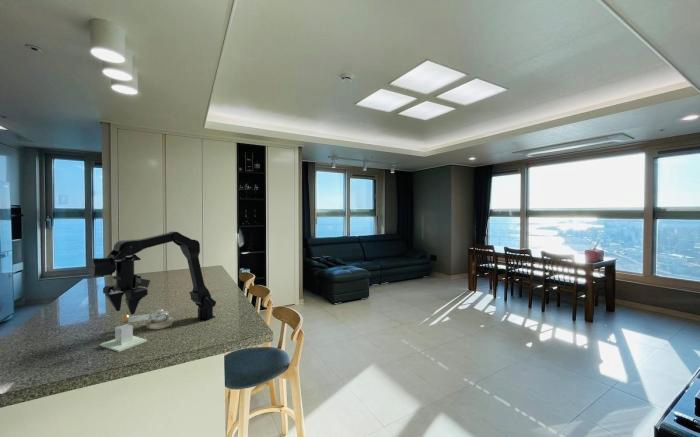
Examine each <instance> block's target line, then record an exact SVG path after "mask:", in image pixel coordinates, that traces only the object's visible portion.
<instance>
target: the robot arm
mask: <svg viewBox="0 0 700 437" xmlns="http://www.w3.org/2000/svg"><path fill="white" fill-rule="evenodd" d="M172 242H173V243H174V244H175V245H177V246H178V247H180V251H181V252H182V255H184V257H185V258H186V260H187V264H188V265H187V266H188V269H189V274H190V279H191V282H192V287H193V288H192V291H189V296H190V300H191V301H192V302H193V303H194V304H195V305H196V306H198V307H197V308H198V309H197V317H196V318H195V320H196V321H201V322H207V321H208V320H213V319H214V318H216V315H214V307H215V306H216V305H217V301H216V300H214V298H212V296H211V293H210V291H209V289H208V288H207V286H206V285H205V282H204V277H203V273H202V268H201V263H200V258H199V255H200V252H201V246H200V244H201V243H200V242H199V241H198V240H197V239H191V238H190V237H187V236H186V235H183V234H182V233H180V232H179V231H169V232H167V233H162V234H157V235H153V236H149V237H145V238H139V239H124V240H118V241H116V242H115V244H114V245H113V249H112V250H111V251H110V252H109V254H108V255H107V256H106V257H99V258H97V257H94V258H91V262H90V264H89V267H88V273H89V276H90V277H91V278H98V277H105V276H112V275H113V274H114V273H115V275H114V276H112V279H113V280H115V283H113V284H108V285H105V286H103V288H102V293H103V294H104V295H105V297H106V298H107V300H109V302H110V304H111V305H112V306H113V308H114V310H115V311H116V312H120V311H121V308H122V298H123V296H124V295H125V298H124V301H125V303H126V306H127V309H128V311H129V315H132V316H134V315H135V313H136V311H137V308H138V306H139V303H140V301H141V300H142V299H143V298H145V297H146V296H148V295H149V290H148V288H149V285H150V283H151V279H145V278H142V275H137V274H135V262H136V261H141V257H139V255H137V253H139V252H142V251H143V250H146V249H148V248H152V247H156V246H159V245H160V246H161V245H163V244H168V243H172Z"/></svg>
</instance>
